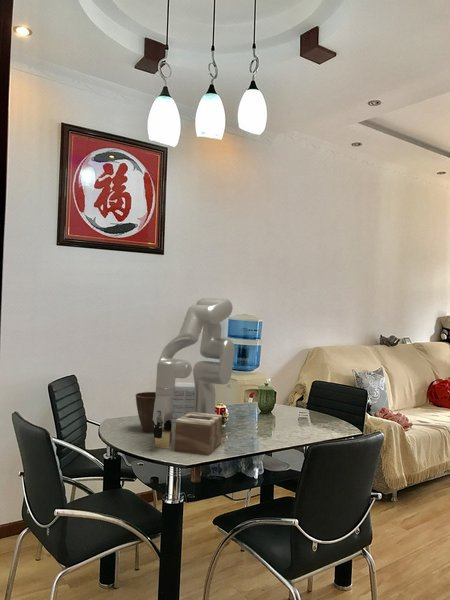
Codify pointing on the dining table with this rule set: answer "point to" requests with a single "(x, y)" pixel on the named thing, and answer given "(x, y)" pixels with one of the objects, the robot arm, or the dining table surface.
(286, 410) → the dining table surface
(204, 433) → the box with rectangular opening
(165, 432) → the tan flat block
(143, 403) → the plant pot
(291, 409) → the dining table surface
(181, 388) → the supplement box
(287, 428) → the dining table surface
